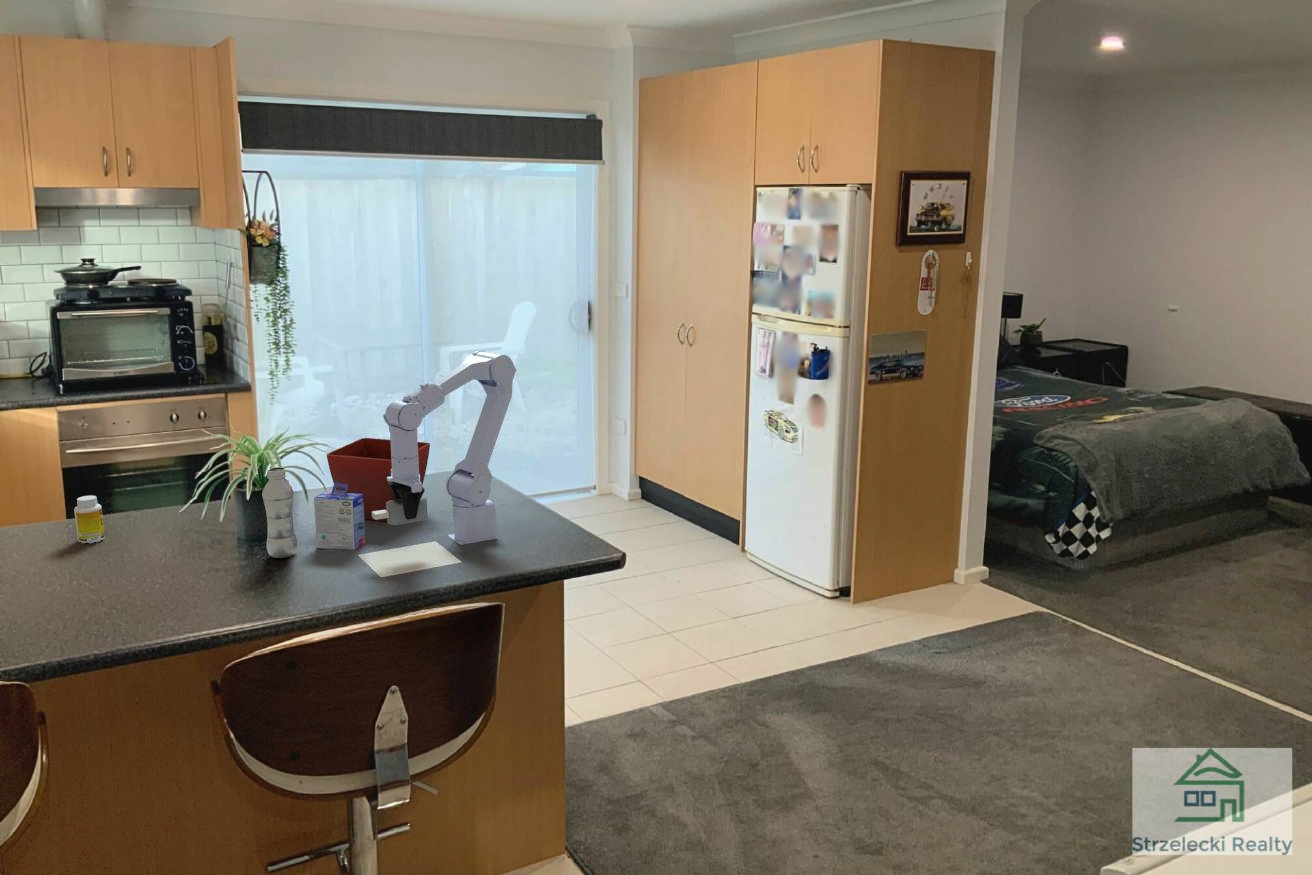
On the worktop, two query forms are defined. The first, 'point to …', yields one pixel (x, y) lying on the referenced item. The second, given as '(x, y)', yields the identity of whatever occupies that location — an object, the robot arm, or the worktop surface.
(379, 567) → the mat
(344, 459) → the plant pot
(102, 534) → the supplement bottle
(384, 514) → the plug
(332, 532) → the ink cartridge box
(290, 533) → the plastic bottle
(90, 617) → the worktop surface
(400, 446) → the robot arm
